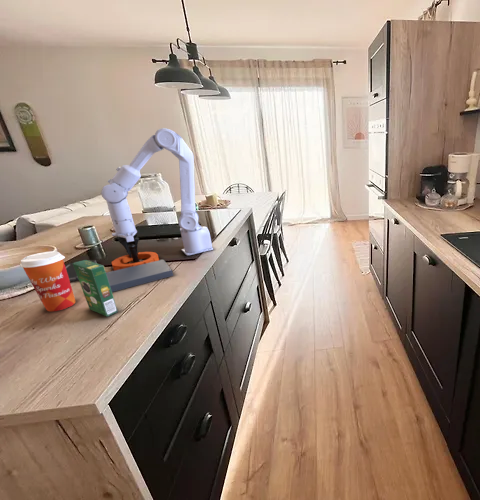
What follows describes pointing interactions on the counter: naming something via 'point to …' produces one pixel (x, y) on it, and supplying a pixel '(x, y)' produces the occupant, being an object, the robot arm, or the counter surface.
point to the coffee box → (95, 287)
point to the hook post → (133, 254)
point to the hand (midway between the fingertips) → (133, 255)
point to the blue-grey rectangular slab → (138, 275)
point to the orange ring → (120, 261)
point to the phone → (73, 271)
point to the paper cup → (49, 279)
